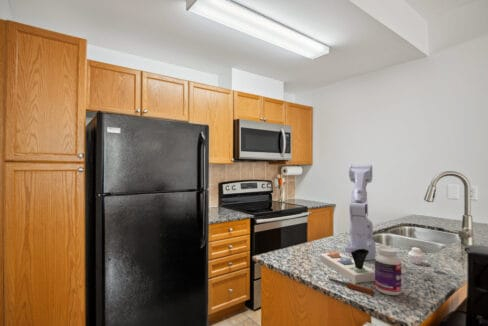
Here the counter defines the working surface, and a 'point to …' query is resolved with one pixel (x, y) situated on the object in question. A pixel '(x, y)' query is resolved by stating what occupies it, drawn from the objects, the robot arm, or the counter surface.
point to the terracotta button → (334, 254)
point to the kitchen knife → (354, 287)
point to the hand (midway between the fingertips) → (359, 268)
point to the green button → (358, 270)
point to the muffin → (416, 255)
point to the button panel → (348, 269)
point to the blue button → (345, 261)
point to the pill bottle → (388, 271)
